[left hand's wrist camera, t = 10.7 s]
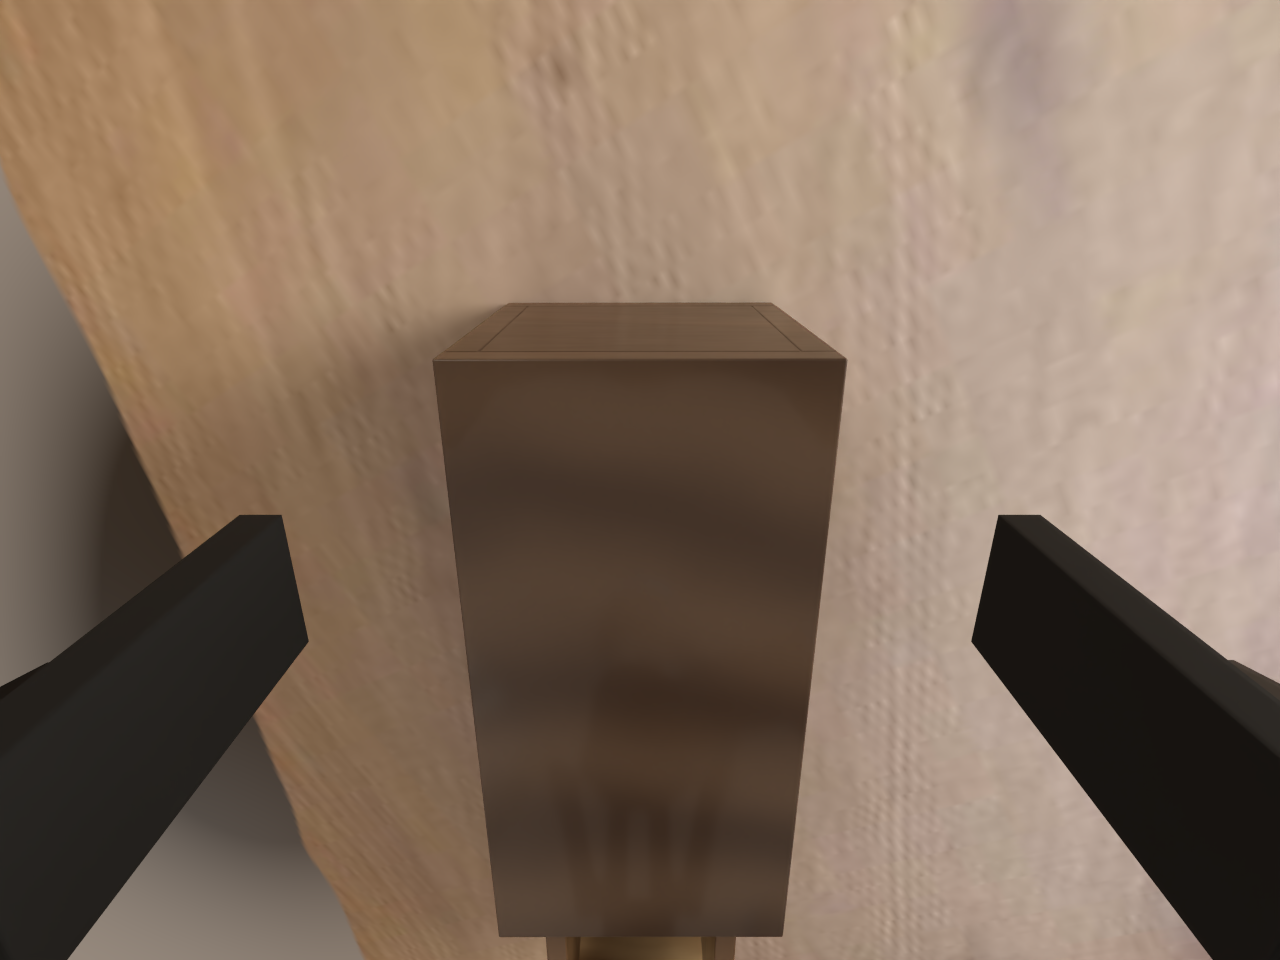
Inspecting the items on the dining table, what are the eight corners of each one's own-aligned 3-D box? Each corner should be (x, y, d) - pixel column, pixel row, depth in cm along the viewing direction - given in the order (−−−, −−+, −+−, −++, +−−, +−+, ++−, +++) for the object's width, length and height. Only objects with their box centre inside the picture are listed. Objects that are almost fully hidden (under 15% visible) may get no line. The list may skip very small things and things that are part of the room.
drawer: (719, 968, 40) (738, 1156, 32) (562, 968, 40) (543, 1156, 32) (743, 588, 30) (779, 723, 22) (537, 588, 30) (501, 723, 22)
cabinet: (742, 732, 34) (783, 937, 25) (538, 732, 34) (498, 937, 25) (772, 302, 27) (848, 358, 17) (507, 302, 27) (431, 359, 17)
